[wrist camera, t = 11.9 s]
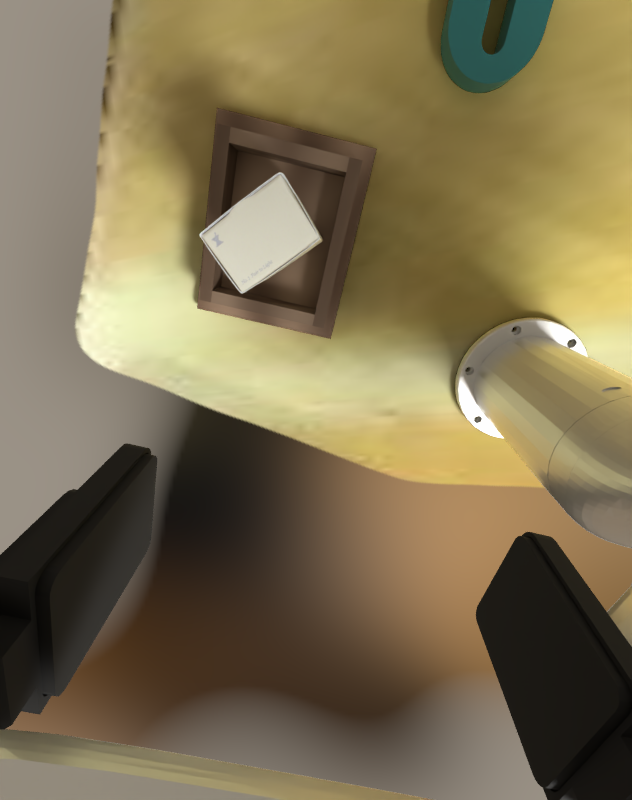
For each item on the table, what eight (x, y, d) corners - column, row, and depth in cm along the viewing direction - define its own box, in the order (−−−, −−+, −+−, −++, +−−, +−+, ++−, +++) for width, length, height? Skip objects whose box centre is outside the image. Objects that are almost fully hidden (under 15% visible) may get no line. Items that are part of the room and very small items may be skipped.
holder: (375, 151, 32) (381, 140, 29) (330, 336, 38) (330, 347, 35) (220, 111, 32) (205, 95, 28) (200, 306, 38) (186, 314, 34)
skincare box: (268, 279, 36) (239, 300, 24) (238, 235, 34) (193, 235, 23) (326, 238, 34) (323, 241, 23) (298, 190, 33) (280, 168, 22)
